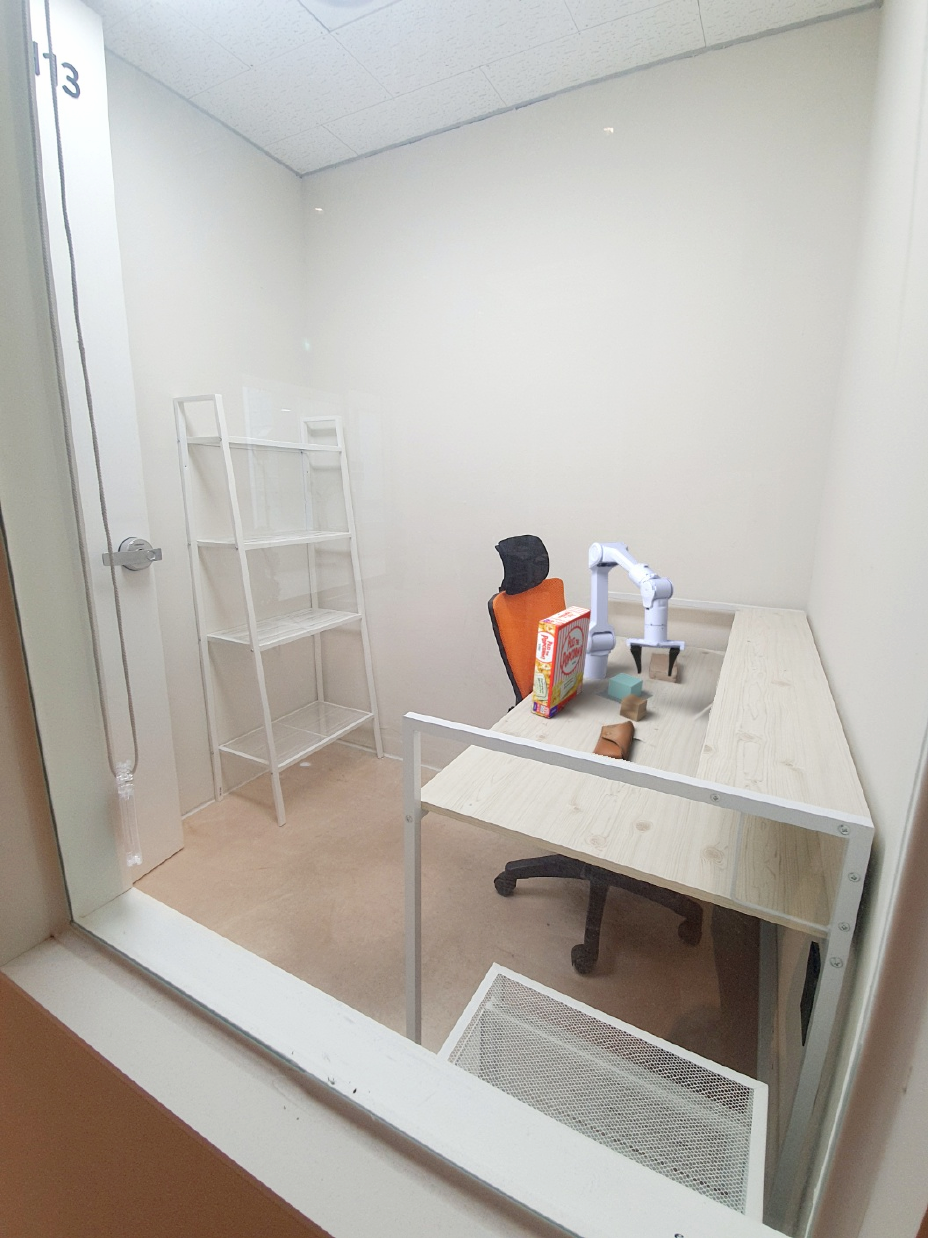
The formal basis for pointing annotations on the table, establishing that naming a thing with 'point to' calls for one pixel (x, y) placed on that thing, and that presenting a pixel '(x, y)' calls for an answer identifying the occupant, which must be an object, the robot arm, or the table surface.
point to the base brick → (624, 686)
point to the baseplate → (605, 694)
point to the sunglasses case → (615, 740)
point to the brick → (662, 668)
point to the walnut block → (633, 707)
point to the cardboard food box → (560, 660)
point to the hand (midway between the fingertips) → (654, 674)
